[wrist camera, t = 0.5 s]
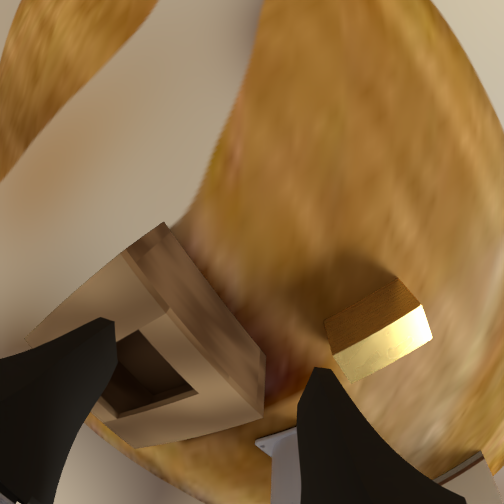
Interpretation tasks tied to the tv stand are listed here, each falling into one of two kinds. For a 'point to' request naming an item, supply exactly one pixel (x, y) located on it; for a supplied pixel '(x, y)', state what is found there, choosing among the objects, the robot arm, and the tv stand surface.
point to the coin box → (165, 346)
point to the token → (377, 331)
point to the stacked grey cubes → (472, 481)
